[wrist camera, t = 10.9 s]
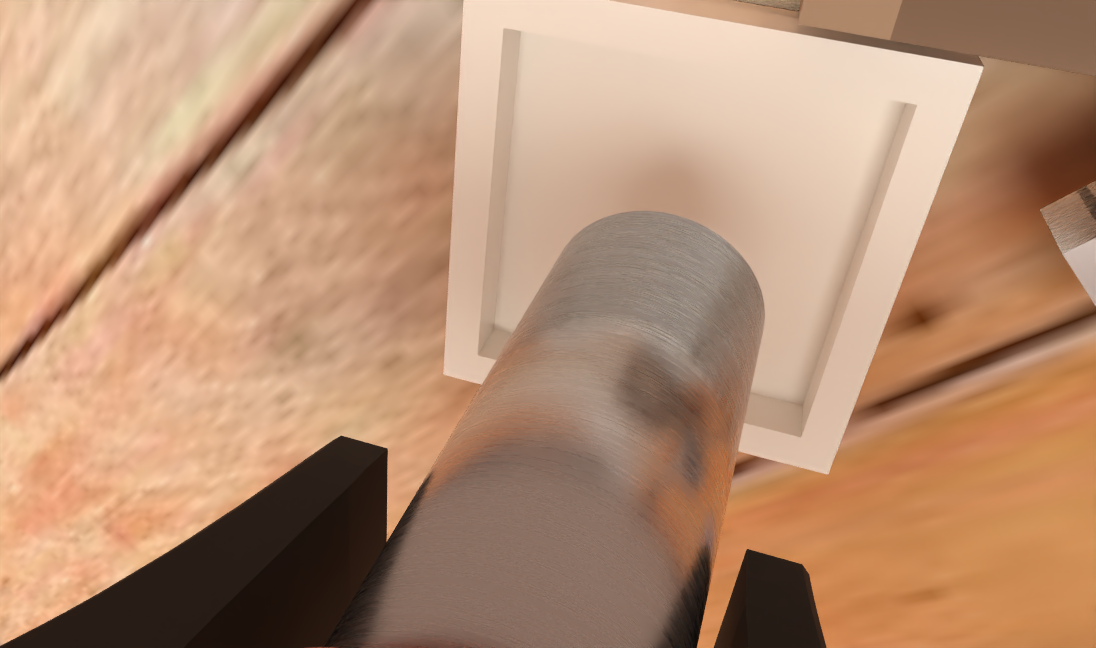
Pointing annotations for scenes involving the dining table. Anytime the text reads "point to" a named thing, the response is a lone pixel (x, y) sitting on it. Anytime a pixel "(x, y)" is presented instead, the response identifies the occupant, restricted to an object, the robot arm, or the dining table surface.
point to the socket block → (973, 27)
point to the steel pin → (584, 459)
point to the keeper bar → (1076, 233)
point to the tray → (703, 175)
